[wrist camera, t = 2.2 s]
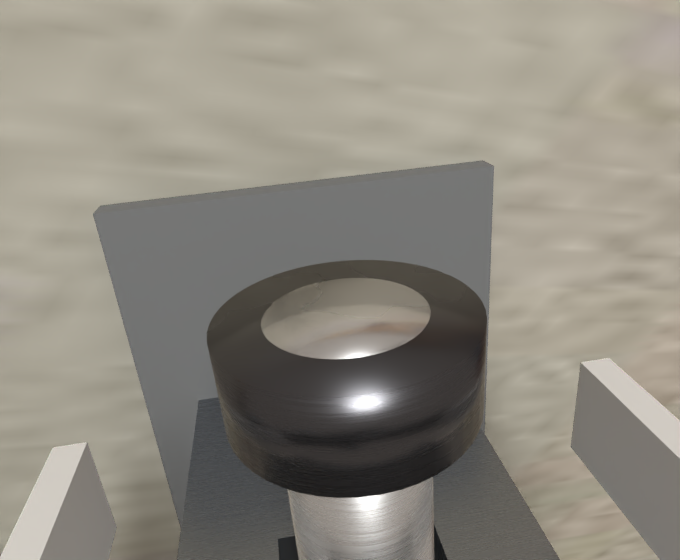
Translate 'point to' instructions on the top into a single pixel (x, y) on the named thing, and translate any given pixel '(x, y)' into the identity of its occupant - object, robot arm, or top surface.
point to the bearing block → (276, 520)
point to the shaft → (353, 397)
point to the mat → (272, 265)
